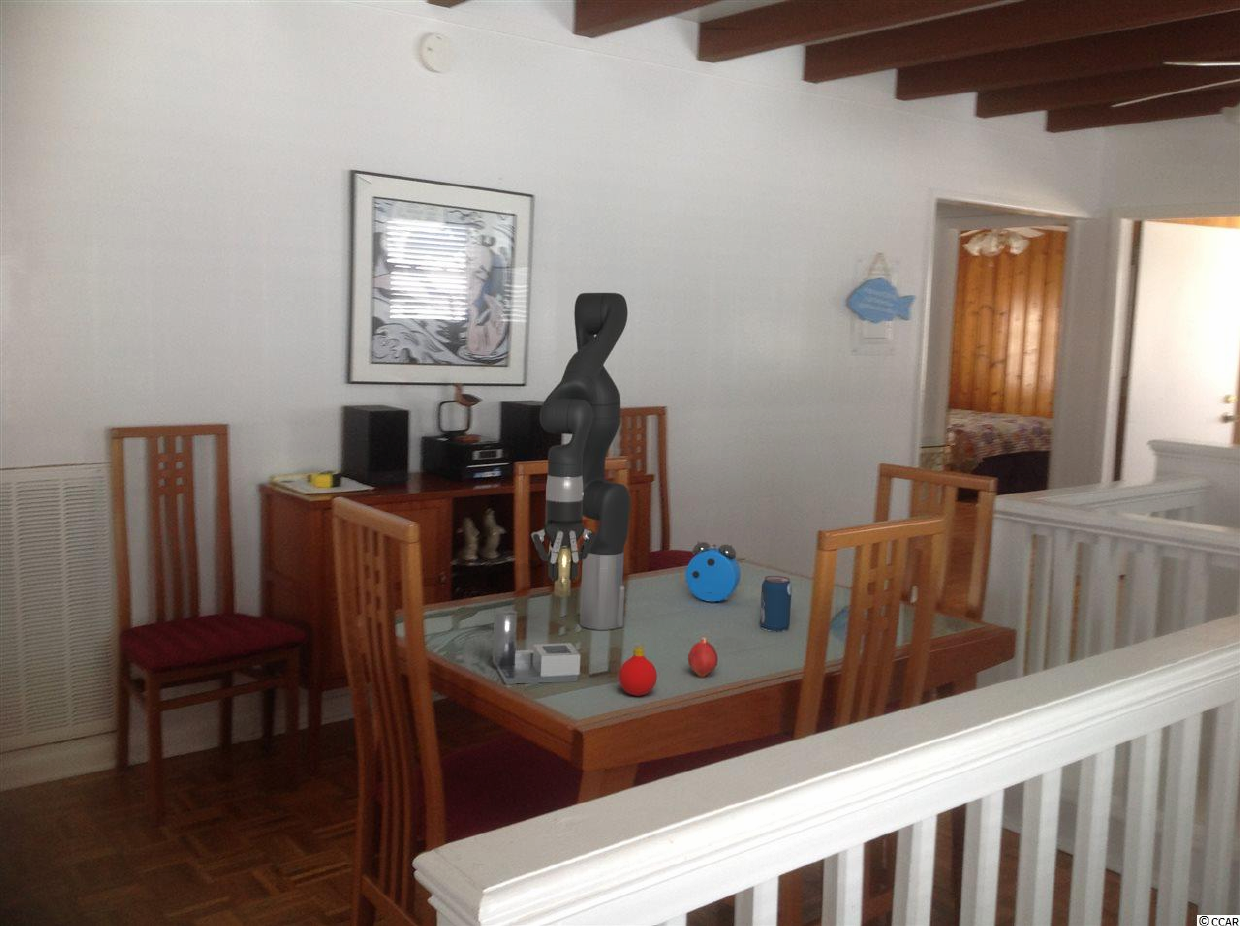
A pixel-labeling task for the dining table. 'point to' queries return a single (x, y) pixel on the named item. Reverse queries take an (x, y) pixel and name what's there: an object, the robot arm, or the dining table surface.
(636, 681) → the christmas ornament
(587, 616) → the robot arm
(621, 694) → the dining table surface
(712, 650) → the onion
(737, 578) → the alarm clock
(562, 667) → the grey desk organizer
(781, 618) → the soda can
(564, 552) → the gold cylinder
